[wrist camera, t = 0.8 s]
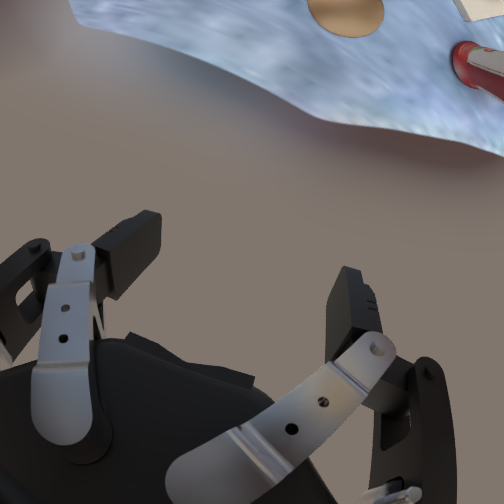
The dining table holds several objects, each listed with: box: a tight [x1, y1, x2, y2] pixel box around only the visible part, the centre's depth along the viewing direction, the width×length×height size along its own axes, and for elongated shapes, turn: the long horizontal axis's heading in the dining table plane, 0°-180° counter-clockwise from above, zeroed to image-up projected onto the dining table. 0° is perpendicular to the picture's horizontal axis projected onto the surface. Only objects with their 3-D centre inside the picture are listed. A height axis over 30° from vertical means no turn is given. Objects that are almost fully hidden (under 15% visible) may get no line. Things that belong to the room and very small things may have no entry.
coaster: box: [308, 0, 384, 37], centre depth 19 cm, size 9×9×1 cm
